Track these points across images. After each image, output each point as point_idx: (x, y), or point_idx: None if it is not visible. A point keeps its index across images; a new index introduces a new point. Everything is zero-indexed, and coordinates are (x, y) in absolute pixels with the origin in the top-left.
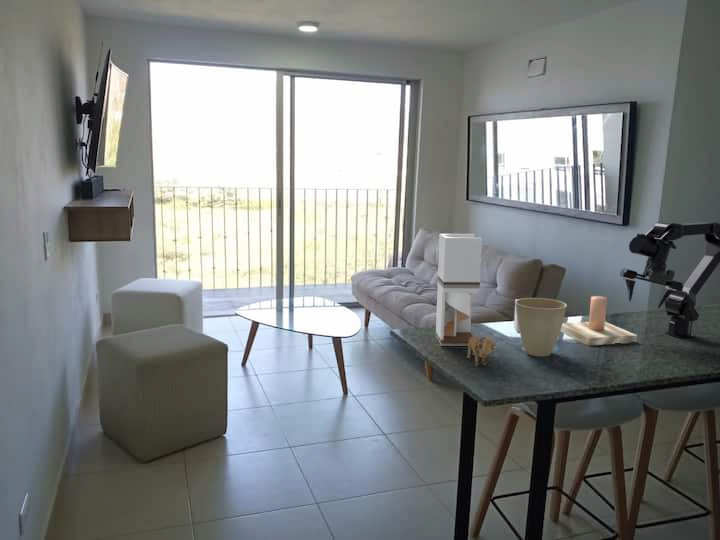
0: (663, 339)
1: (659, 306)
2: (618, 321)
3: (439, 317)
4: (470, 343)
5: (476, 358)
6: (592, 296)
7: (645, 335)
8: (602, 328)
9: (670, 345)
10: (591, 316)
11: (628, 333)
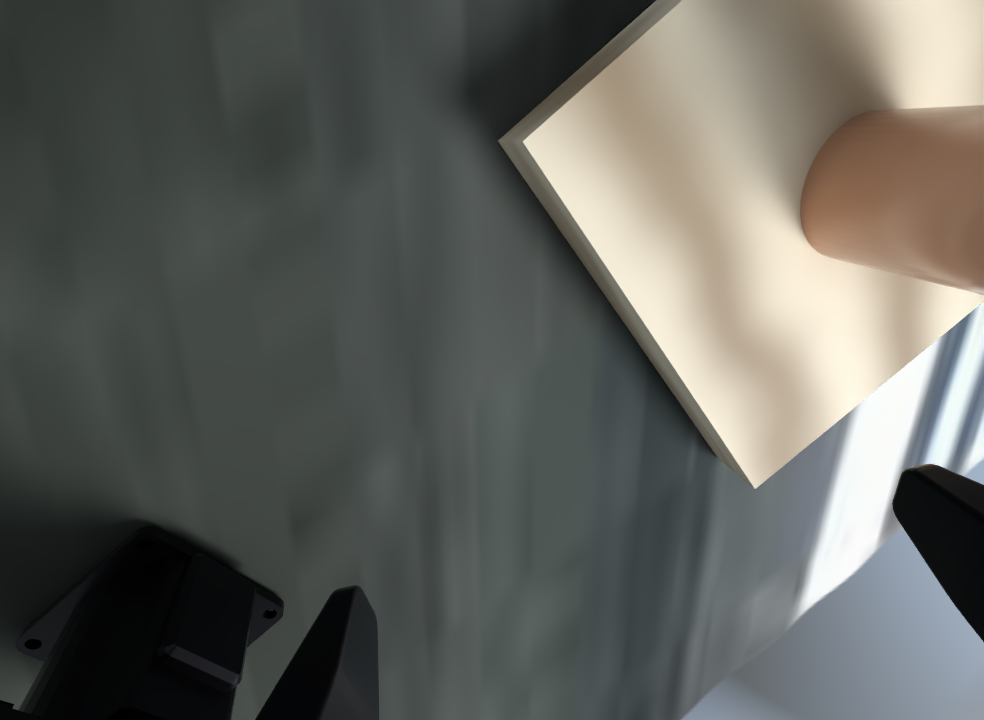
0: (271, 404)
1: (334, 615)
2: (607, 659)
3: None
4: None
5: None
6: None
7: (429, 439)
8: (847, 143)
9: (165, 217)
10: None
11: (603, 176)
